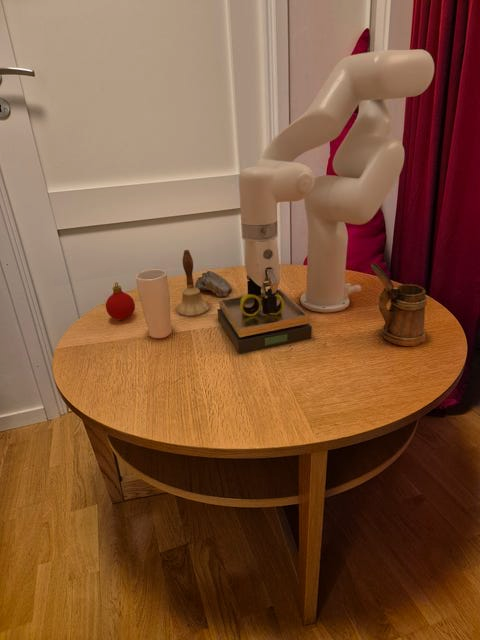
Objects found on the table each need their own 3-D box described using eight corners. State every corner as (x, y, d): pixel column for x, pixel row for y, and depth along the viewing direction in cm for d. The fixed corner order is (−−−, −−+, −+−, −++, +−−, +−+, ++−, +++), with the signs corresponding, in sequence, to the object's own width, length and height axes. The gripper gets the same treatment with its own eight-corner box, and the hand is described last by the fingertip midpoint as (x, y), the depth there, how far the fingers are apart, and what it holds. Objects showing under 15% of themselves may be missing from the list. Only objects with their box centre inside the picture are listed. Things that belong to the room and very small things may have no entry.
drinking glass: (169, 341, 92) (159, 280, 86) (141, 340, 94) (130, 279, 87) (178, 327, 98) (170, 269, 91) (152, 326, 100) (142, 268, 93)
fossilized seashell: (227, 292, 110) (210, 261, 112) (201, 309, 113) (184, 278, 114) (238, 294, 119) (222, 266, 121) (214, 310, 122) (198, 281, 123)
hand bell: (171, 309, 108) (163, 251, 100) (197, 300, 112) (190, 243, 105) (189, 319, 102) (181, 258, 95) (215, 309, 107) (210, 250, 99)
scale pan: (280, 296, 103) (280, 289, 102) (308, 323, 89) (309, 315, 88) (219, 307, 99) (218, 299, 98) (239, 337, 85) (238, 329, 84)
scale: (281, 307, 105) (281, 295, 104) (311, 338, 90) (312, 324, 89) (218, 320, 101) (217, 306, 99) (239, 354, 86) (238, 339, 85)
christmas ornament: (132, 324, 101) (125, 287, 96) (104, 325, 102) (96, 288, 97) (140, 312, 107) (133, 276, 103) (114, 312, 108) (106, 277, 103)
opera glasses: (282, 309, 96) (281, 289, 95) (284, 315, 91) (283, 294, 90) (241, 311, 96) (240, 291, 95) (240, 317, 91) (239, 296, 90)
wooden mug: (355, 331, 92) (362, 255, 84) (411, 324, 94) (423, 249, 86) (372, 351, 85) (382, 270, 76) (433, 343, 86) (449, 262, 78)
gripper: (293, 238, 79) (292, 316, 86) (261, 218, 93) (263, 287, 101) (256, 243, 77) (259, 323, 85) (230, 223, 92) (235, 292, 99)
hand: (261, 304), depth 93 cm, fingers open, 9 cm apart
